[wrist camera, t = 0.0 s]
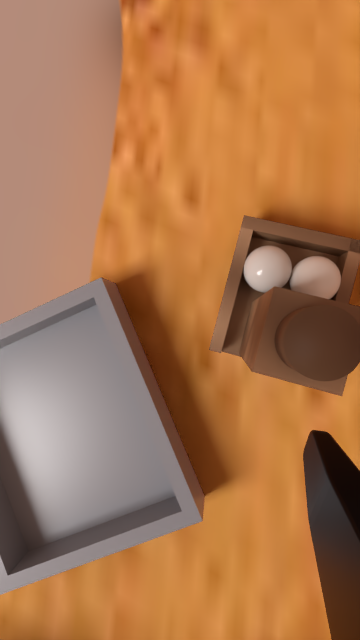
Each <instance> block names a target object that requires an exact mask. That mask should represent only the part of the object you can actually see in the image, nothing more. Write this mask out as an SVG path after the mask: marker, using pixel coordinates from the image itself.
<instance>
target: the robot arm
mask: <svg viewBox="0 0 360 640" xmlns="http://www.w3.org/2000/svg"><path fill="white" fill-rule="evenodd" d="M303 461H304V473H305V485H306V497H307V508H308V518H309V525H310V531H311V536H312V541H313V546H314V551H315V556H316V561H317V567H318V572H319V577H320V582H321V587H322V592H323V597H324V603H325V608H326V613H327V618H328V623H329V628H330V633H331V639H332V640H360V471H359V469H358V468H357V467H356V466H355V464H354V463H353V462H352V461H351V459H350V458H349V457H348V456H347V455H346V453H345V452H344V451H343V450H342V448H341V447H340V446H339V445H338V443H337V442H336V441H335V440H334V438H333V437H332V436H331V435H330V434H329V433H328V432H325V431H317V430H312V431H311V432H310V434H309V436H308V439H307V442H306V445H305V448H304V453H303Z"/></svg>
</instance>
